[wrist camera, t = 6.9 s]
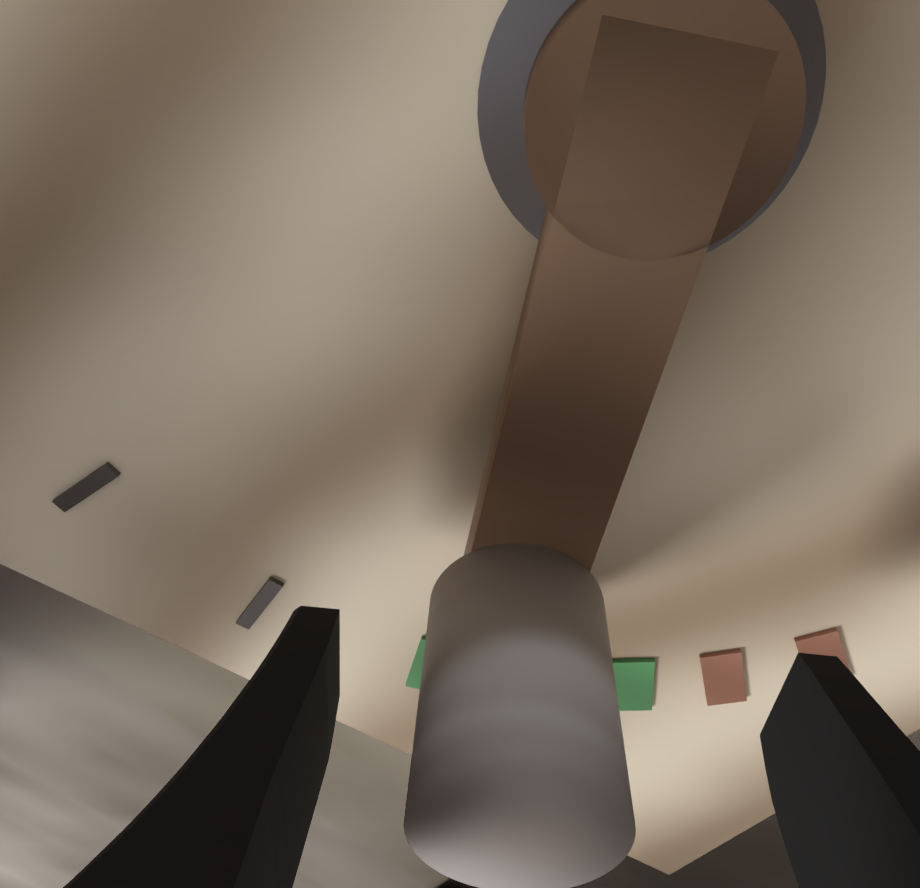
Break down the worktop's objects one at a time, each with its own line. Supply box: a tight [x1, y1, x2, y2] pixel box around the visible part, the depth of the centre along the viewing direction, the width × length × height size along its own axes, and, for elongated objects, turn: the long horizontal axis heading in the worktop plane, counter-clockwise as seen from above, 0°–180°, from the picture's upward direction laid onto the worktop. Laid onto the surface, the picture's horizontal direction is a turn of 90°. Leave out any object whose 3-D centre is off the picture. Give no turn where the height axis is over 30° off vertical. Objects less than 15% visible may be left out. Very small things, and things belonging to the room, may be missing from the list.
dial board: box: [0, 0, 920, 875], centre depth 12 cm, size 26×21×1 cm
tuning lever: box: [404, 0, 806, 888], centre depth 11 cm, size 14×3×5 cm, turn 170°
